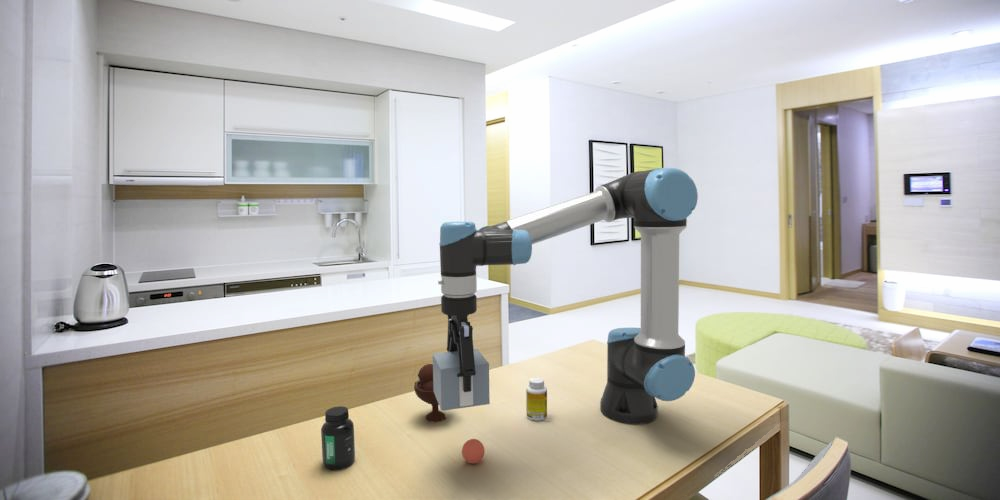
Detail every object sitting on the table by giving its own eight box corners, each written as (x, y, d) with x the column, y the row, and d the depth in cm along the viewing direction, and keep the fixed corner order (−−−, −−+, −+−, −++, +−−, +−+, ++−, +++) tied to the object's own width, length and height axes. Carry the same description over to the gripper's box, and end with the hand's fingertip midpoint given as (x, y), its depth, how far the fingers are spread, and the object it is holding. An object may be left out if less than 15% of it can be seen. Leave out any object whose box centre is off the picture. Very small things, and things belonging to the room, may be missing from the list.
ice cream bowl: (449, 428, 119) (448, 371, 117) (408, 425, 121) (406, 369, 119) (461, 410, 129) (460, 358, 128) (422, 407, 131) (421, 355, 130)
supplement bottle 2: (548, 421, 122) (548, 383, 121) (527, 421, 122) (527, 384, 121) (545, 411, 128) (545, 375, 127) (525, 412, 128) (525, 376, 127)
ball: (455, 444, 104) (466, 460, 106) (460, 455, 100) (472, 472, 101) (474, 430, 105) (485, 446, 107) (479, 441, 101) (491, 458, 102)
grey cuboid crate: (477, 386, 107) (476, 349, 107) (489, 404, 98) (489, 363, 97) (433, 391, 105) (432, 353, 104) (441, 410, 95) (440, 369, 94)
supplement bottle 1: (332, 475, 99) (329, 421, 98) (317, 463, 104) (314, 411, 102) (361, 461, 104) (358, 410, 103) (345, 450, 109) (343, 401, 107)
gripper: (432, 286, 109) (435, 378, 111) (451, 306, 87) (454, 420, 89) (464, 284, 111) (465, 374, 113) (490, 303, 89) (491, 414, 91)
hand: (460, 394), depth 101 cm, fingers closed on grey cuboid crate, 10 cm apart
